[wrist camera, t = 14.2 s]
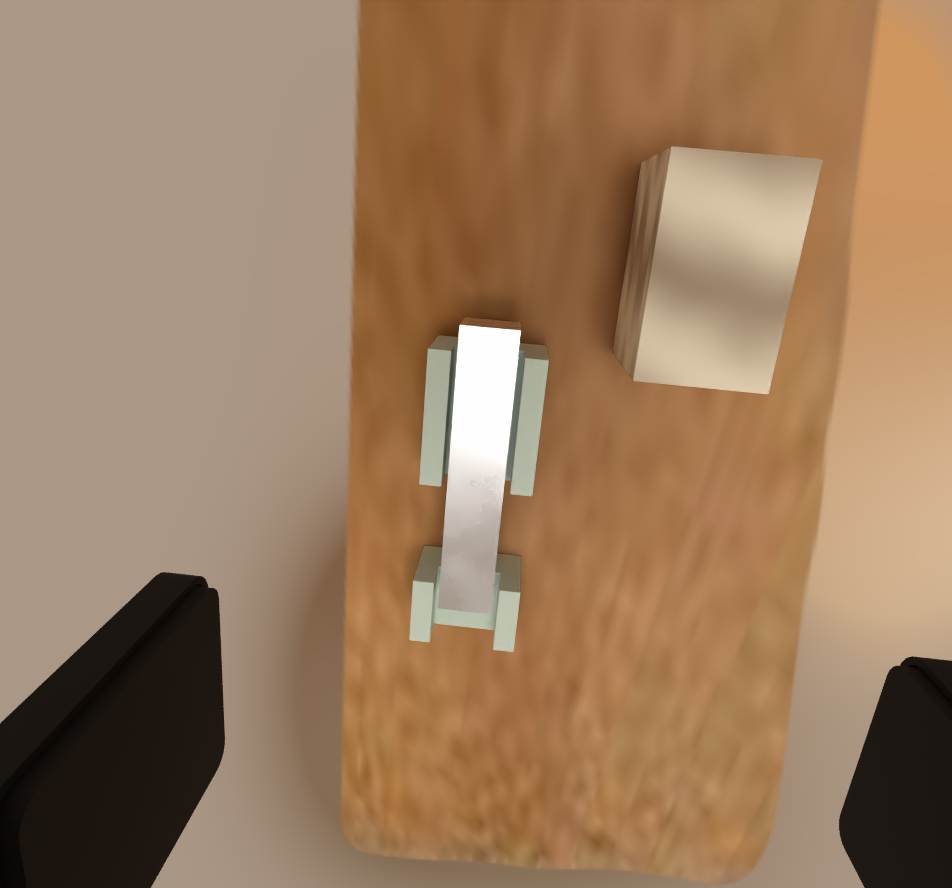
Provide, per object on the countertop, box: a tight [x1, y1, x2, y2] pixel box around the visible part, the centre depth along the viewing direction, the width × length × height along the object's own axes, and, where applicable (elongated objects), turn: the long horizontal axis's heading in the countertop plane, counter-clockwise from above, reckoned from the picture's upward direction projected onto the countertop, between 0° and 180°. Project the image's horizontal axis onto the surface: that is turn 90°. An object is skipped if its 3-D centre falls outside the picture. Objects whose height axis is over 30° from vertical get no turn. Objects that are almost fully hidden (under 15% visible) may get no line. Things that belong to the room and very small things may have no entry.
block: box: [613, 146, 823, 394], centre depth 33 cm, size 10×6×8 cm, turn 175°
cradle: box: [409, 335, 549, 652], centre depth 39 cm, size 18×6×4 cm, turn 175°
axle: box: [438, 317, 521, 614], centre depth 36 cm, size 16×3×3 cm, turn 175°
